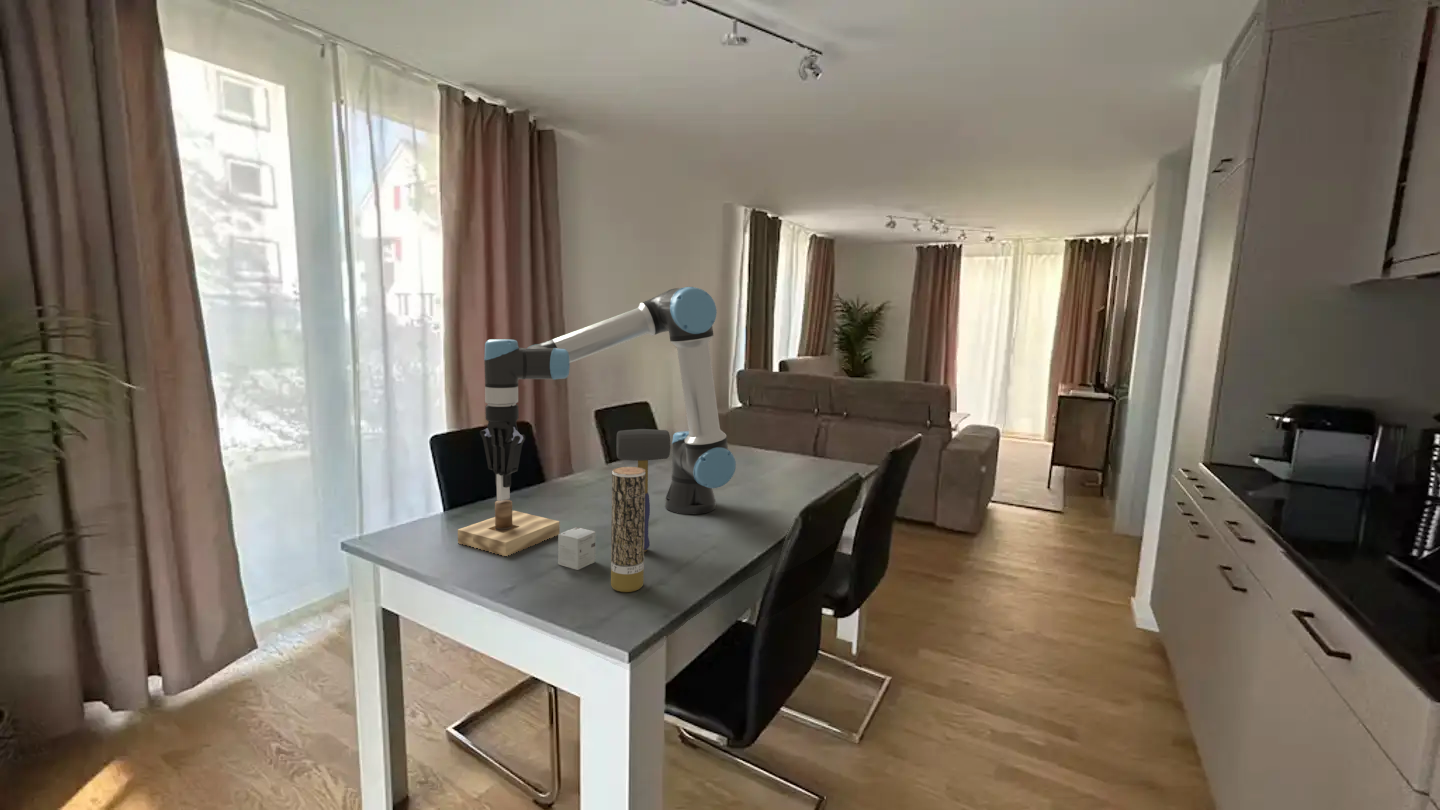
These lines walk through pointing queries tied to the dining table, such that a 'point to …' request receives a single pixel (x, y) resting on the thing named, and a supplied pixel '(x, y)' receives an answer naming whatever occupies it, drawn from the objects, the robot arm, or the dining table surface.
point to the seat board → (509, 534)
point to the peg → (503, 516)
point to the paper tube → (627, 528)
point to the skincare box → (576, 548)
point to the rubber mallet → (643, 456)
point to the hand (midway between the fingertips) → (503, 499)
